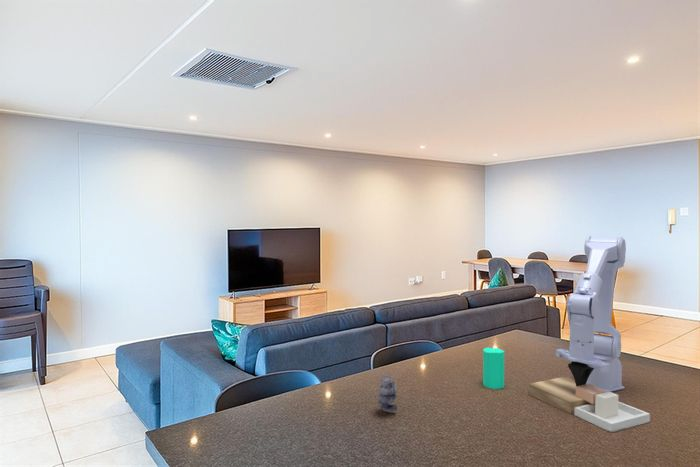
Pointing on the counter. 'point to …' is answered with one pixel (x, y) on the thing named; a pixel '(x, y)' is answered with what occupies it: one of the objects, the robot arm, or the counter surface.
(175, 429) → the counter surface
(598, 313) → the robot arm
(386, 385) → the grey stone figurine
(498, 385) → the candle
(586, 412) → the tray
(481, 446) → the counter surface
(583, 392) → the terracotta tile
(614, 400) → the cream tile
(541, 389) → the board
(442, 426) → the counter surface
